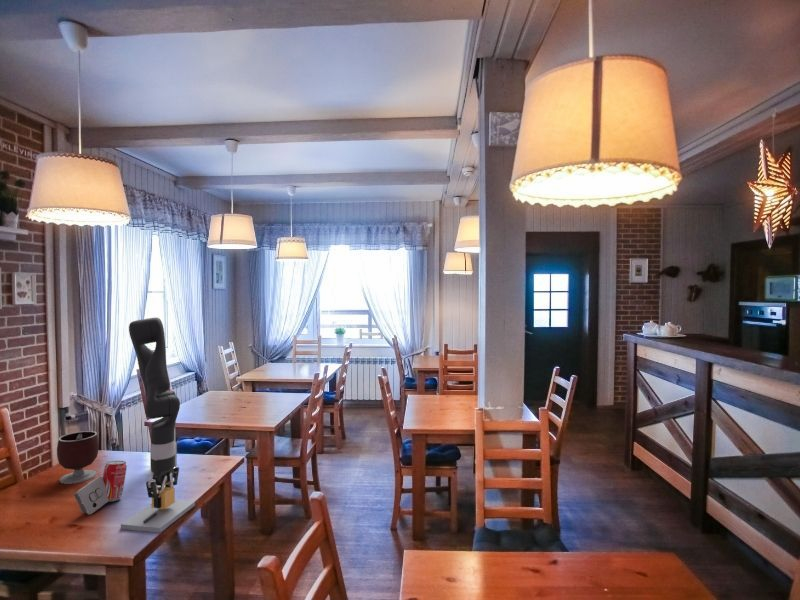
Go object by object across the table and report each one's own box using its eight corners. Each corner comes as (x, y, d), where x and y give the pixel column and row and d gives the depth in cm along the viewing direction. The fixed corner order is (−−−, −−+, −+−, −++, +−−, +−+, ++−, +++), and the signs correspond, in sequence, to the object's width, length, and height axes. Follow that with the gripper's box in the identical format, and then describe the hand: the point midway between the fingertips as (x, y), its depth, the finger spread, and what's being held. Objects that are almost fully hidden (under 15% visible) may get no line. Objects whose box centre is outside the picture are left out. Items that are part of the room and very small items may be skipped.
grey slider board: (159, 502, 162) (159, 489, 161) (194, 505, 159) (194, 491, 159) (120, 528, 144) (120, 513, 144) (160, 532, 142) (160, 516, 141)
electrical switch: (90, 516, 152) (82, 491, 150) (77, 516, 153) (70, 491, 152) (112, 499, 161) (105, 475, 160) (100, 499, 162) (93, 476, 161)
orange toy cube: (161, 501, 156) (161, 486, 156) (174, 502, 155) (174, 487, 155) (151, 507, 151) (151, 493, 151) (165, 508, 150) (165, 494, 150)
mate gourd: (55, 476, 184) (55, 428, 184) (96, 468, 193) (95, 421, 193) (59, 489, 172) (58, 437, 172) (102, 479, 181) (101, 430, 181)
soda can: (124, 497, 167) (130, 460, 169) (117, 502, 160) (123, 464, 162) (103, 497, 165) (109, 460, 167) (95, 502, 158) (101, 463, 160)
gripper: (167, 446, 161) (167, 493, 161) (137, 461, 147) (138, 513, 147) (186, 448, 160) (186, 495, 160) (158, 463, 145) (158, 515, 146)
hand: (163, 503), depth 153 cm, fingers closed on orange toy cube, 5 cm apart
